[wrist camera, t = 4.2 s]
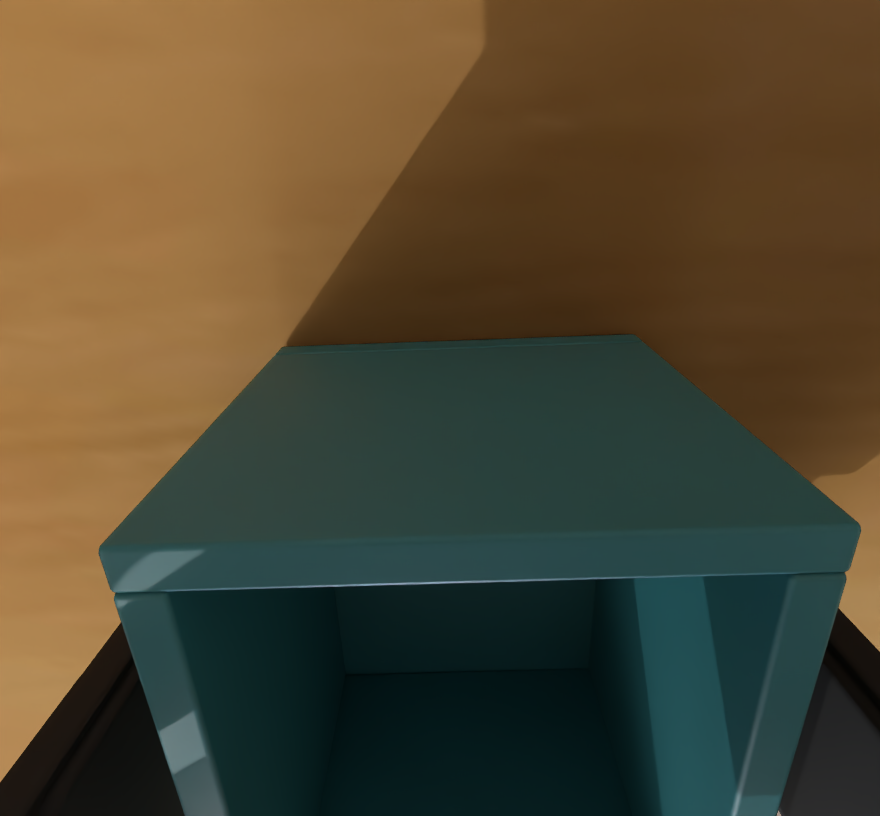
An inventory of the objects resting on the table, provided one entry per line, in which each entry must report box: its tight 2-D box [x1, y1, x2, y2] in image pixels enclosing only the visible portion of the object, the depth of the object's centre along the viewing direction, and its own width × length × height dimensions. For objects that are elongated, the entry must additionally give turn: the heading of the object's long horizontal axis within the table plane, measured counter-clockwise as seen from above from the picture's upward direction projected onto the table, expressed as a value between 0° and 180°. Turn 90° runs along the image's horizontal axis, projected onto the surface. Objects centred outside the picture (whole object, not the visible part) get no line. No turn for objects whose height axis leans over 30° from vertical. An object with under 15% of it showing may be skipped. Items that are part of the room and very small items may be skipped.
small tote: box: [99, 334, 861, 816], centre depth 9 cm, size 8×6×6 cm
